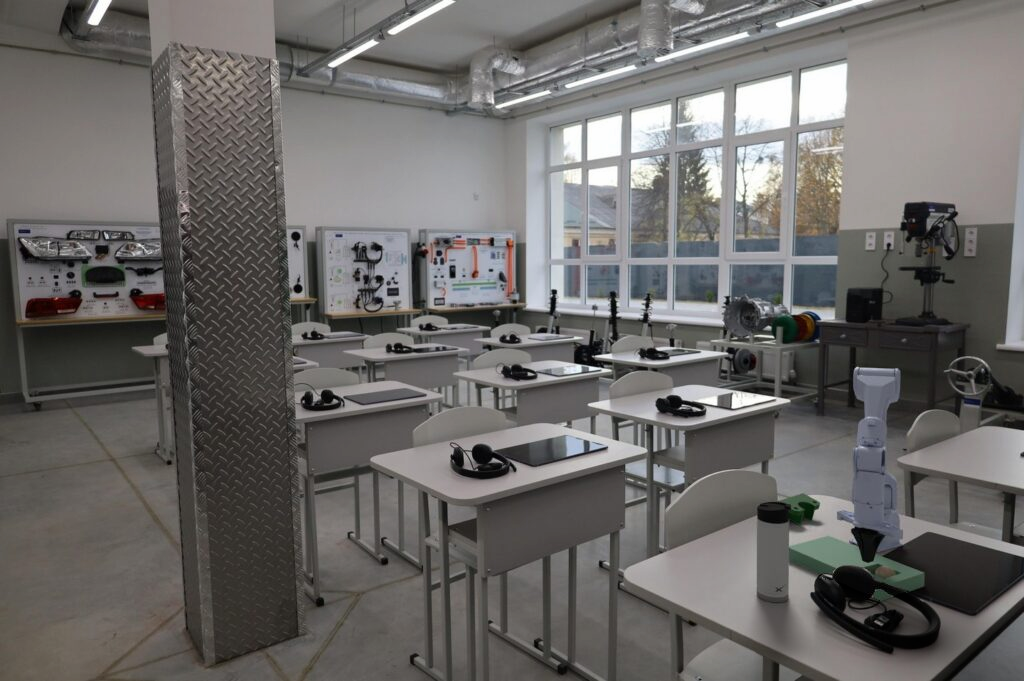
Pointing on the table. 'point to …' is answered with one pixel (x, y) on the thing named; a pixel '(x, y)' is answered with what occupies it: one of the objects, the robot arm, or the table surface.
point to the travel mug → (773, 551)
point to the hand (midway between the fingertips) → (867, 561)
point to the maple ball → (884, 572)
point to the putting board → (852, 563)
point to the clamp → (801, 507)
